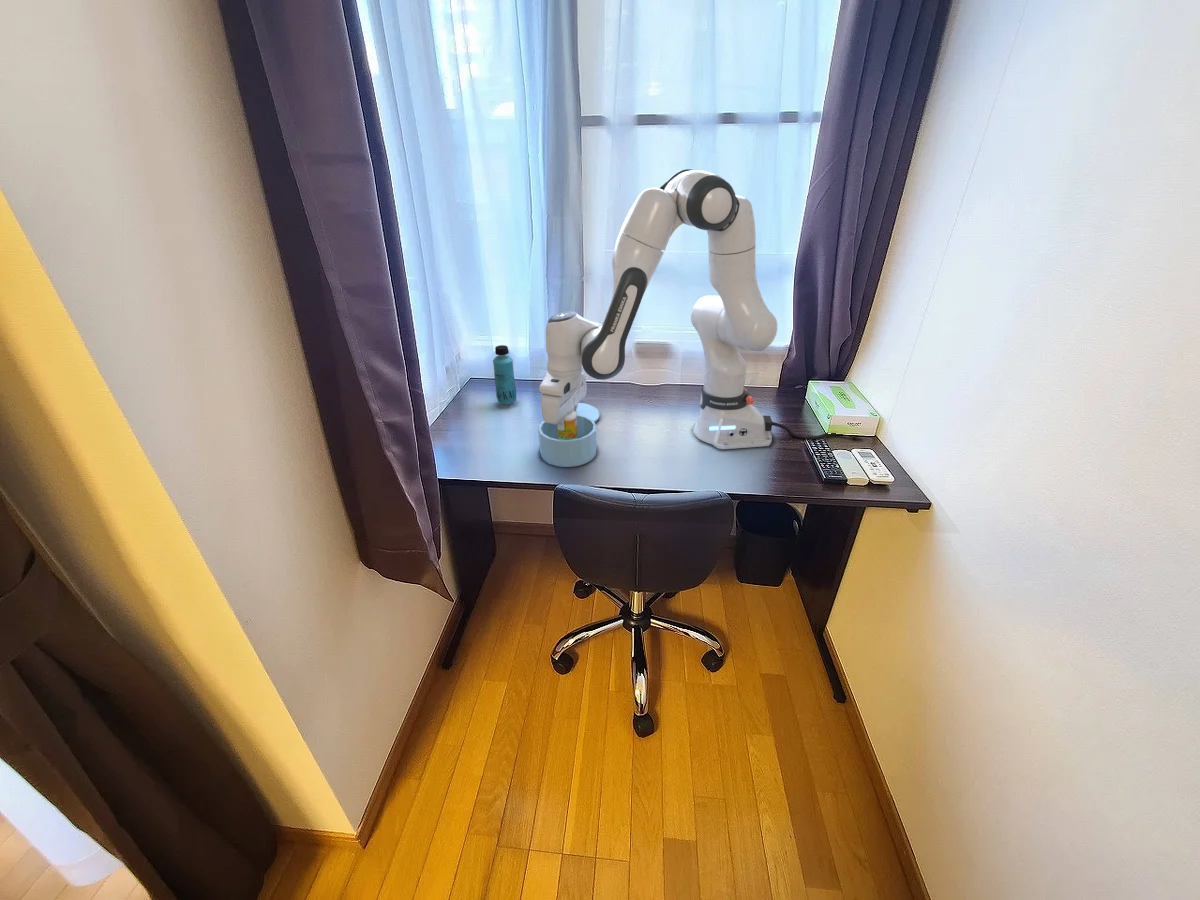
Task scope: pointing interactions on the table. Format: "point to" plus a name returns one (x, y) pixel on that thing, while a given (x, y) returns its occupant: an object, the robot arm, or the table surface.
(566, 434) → the supplement bottle
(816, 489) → the table surface
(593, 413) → the lid
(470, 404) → the table surface
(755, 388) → the table surface
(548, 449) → the pot
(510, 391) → the beverage bottle
